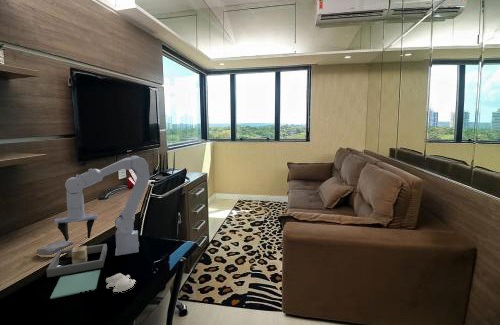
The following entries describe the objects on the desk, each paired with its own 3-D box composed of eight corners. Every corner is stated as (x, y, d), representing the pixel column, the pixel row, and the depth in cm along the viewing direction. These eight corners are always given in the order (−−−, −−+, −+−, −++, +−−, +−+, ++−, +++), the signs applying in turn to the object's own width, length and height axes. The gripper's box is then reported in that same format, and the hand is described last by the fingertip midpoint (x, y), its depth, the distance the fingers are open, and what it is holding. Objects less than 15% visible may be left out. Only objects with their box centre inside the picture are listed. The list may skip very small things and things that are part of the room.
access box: (107, 249, 119) (106, 243, 119) (103, 267, 104) (102, 260, 104) (58, 257, 112) (58, 250, 111) (47, 277, 97) (46, 270, 96)
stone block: (34, 260, 112) (52, 259, 110) (31, 250, 112) (50, 248, 110) (59, 249, 124) (76, 247, 122) (57, 239, 124) (74, 237, 121)
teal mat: (100, 270, 102) (100, 269, 102) (95, 289, 90) (95, 288, 90) (60, 277, 97) (60, 276, 97) (50, 299, 85) (50, 297, 85)
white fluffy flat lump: (125, 273, 101) (125, 266, 100) (139, 286, 93) (139, 278, 92) (101, 283, 94) (100, 275, 94) (114, 297, 86) (113, 289, 86)
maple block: (87, 258, 111) (86, 245, 110) (85, 263, 107) (84, 250, 106) (75, 260, 109) (73, 247, 108) (72, 266, 105) (71, 252, 104)
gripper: (51, 211, 98) (54, 245, 100) (95, 207, 104) (97, 239, 106) (56, 206, 105) (59, 238, 106) (97, 203, 110) (99, 233, 112)
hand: (78, 238), depth 107 cm, fingers open, 7 cm apart
